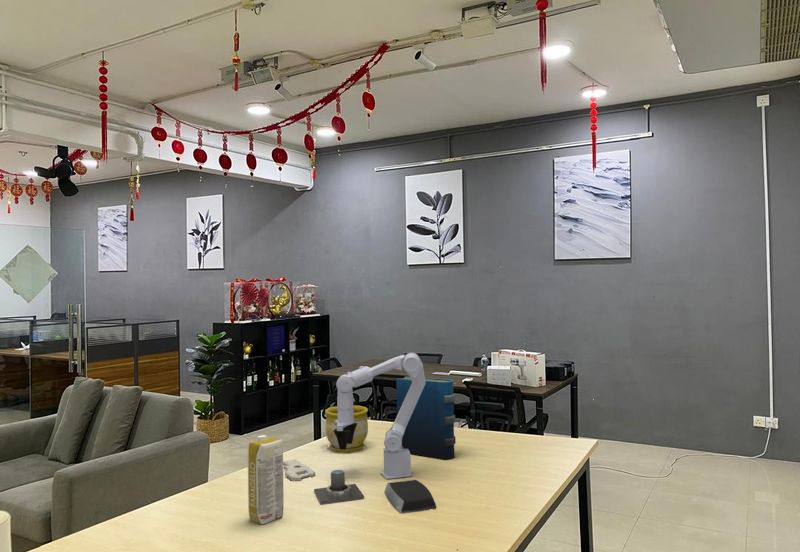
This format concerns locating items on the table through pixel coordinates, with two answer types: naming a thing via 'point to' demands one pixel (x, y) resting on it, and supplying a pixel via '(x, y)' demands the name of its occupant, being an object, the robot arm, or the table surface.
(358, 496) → the metal base plate
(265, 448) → the juice carton
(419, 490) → the external hard drive
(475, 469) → the table surface
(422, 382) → the robot arm
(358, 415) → the flowerpot
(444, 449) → the book
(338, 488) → the blue-grey cylinder
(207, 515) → the table surface
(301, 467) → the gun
